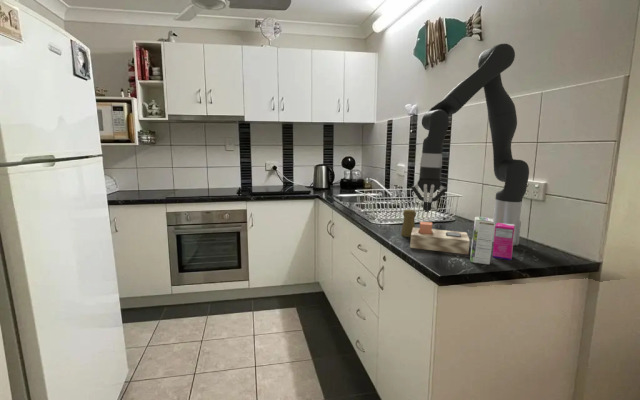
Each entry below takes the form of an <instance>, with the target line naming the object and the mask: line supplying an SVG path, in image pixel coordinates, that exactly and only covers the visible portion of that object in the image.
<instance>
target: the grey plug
mask: <svg viewBox="0 0 640 400" xmlns="http://www.w3.org/2000/svg"><path fill="white" fill-rule="evenodd" d="M447 236H451V237H460V233H453V232H447Z"/></svg>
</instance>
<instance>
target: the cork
mask: <svg viewBox="0 0 640 400" xmlns="http://www.w3.org/2000/svg"><path fill="white" fill-rule="evenodd" d="M402 213H403V214H402V215H403V222H402V227H401V232H400V235H401V236H402V237H405V238H411V233H412V229H413V227H415V228H416V225H415V218H416V215H417V212H416V210H415V209H411V208H410V209H409V208H408V209H405V210H403V212H402Z"/></svg>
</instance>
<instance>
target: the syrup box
mask: <svg viewBox="0 0 640 400" xmlns="http://www.w3.org/2000/svg"><path fill="white" fill-rule="evenodd" d="M473 223H474V224H473V231H472V238H471V247H470V254H469V255H470V256H469V259H470V263H474V264H480V265H481V264H483V265H490V264H491V257H492V251H493V250H492V249H493V243H494V242H493V234H494V226H495V222H494V220H493V218H491V217H490V218H489V217H485V216H475V217H474V222H473Z"/></svg>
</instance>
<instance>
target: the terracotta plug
mask: <svg viewBox="0 0 640 400" xmlns="http://www.w3.org/2000/svg"><path fill="white" fill-rule="evenodd" d="M419 228H420V230H419V233H422V234H432V229H433V222H431V221H429V222H428V221H420V222H419Z"/></svg>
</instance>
